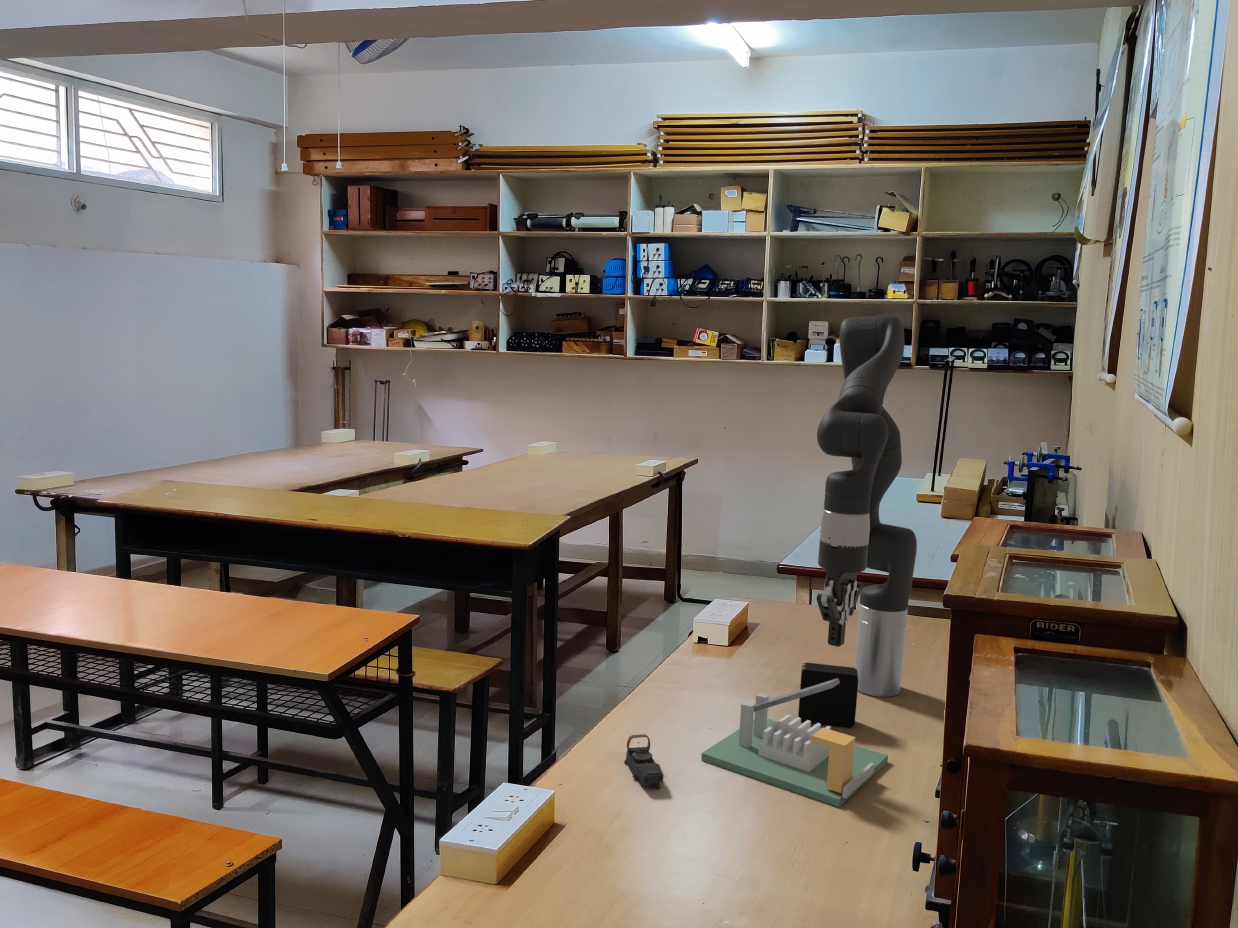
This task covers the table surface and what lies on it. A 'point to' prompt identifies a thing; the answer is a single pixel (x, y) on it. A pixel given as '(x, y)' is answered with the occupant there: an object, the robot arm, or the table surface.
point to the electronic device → (829, 695)
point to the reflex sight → (643, 765)
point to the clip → (837, 757)
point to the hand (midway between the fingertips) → (835, 644)
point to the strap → (796, 694)
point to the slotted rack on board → (788, 755)
